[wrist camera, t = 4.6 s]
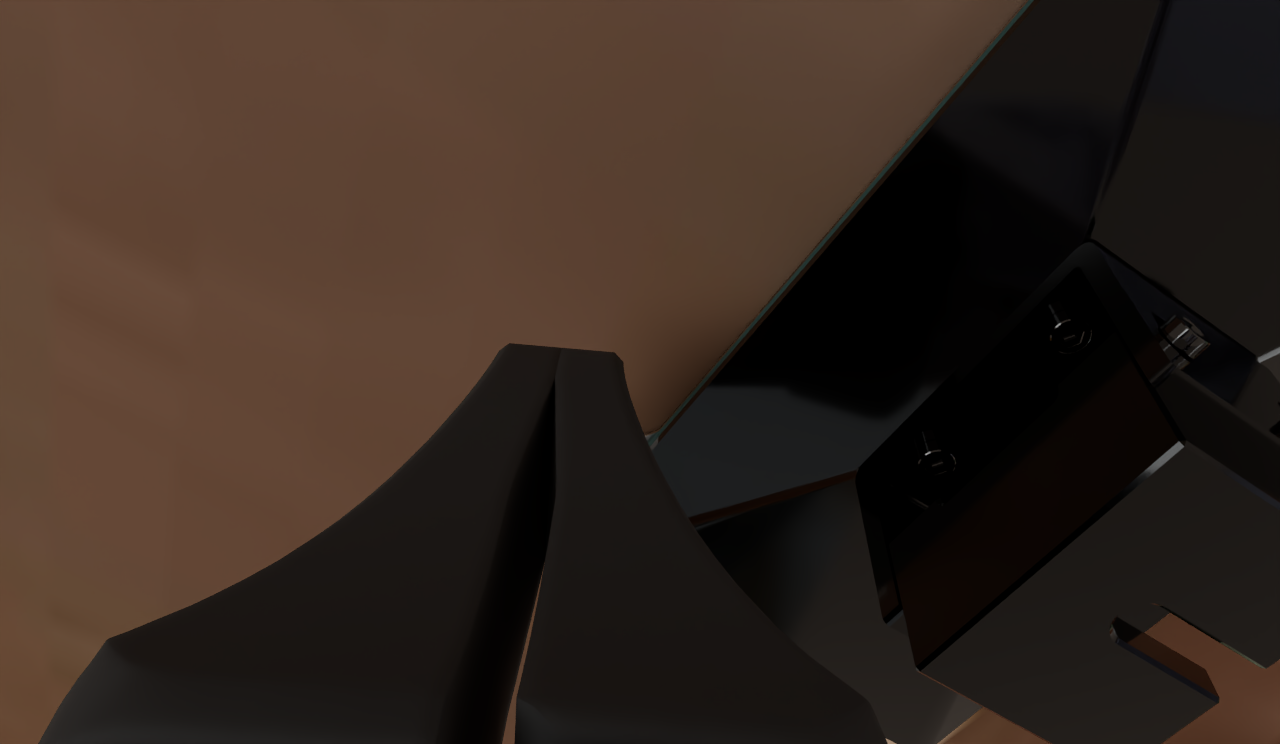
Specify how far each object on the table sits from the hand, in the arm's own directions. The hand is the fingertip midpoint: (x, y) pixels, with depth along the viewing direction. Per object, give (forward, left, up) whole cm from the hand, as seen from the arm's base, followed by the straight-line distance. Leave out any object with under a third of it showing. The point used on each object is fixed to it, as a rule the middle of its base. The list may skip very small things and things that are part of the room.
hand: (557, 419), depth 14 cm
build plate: (-6, 0, -2) cm, 6 cm away
